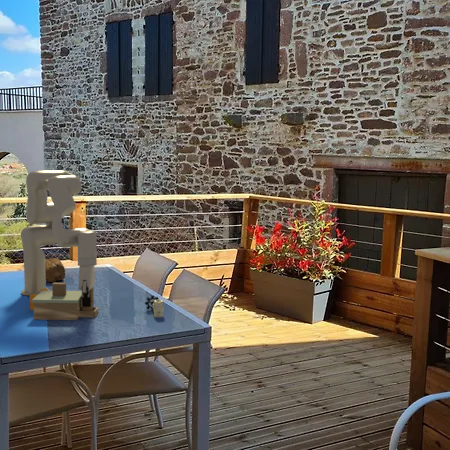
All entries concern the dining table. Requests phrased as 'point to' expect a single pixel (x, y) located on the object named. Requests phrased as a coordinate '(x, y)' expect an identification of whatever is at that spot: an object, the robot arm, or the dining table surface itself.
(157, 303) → the valve
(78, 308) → the toolbox
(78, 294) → the lid
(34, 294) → the pipe clamp
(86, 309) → the brown rectangular block
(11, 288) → the dining table surface
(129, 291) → the dining table surface
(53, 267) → the petrified wood
